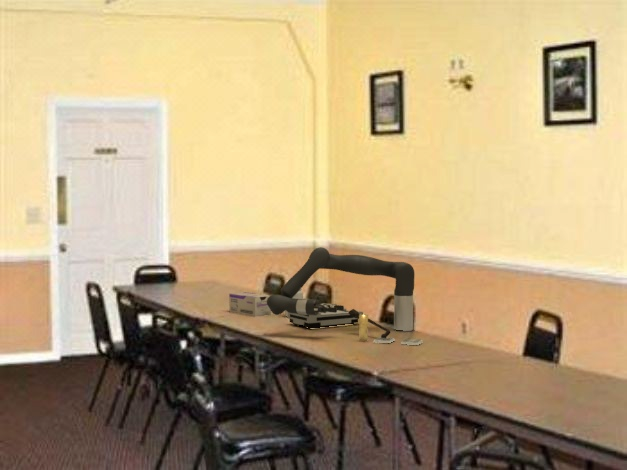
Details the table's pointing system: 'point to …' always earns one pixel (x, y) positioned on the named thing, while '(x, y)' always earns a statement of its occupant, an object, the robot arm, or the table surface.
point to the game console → (323, 319)
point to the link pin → (363, 327)
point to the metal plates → (406, 341)
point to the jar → (297, 296)
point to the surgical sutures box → (249, 304)
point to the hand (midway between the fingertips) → (340, 309)
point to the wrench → (356, 315)
